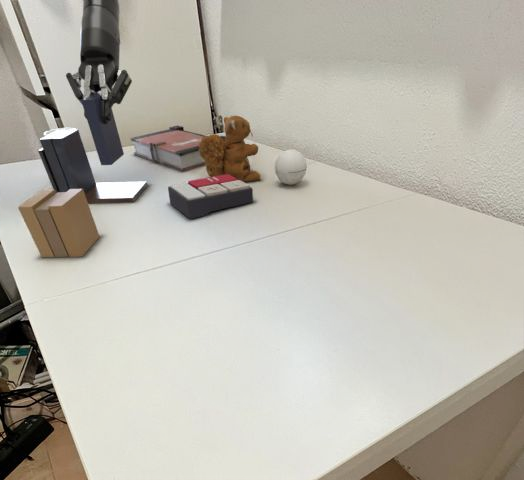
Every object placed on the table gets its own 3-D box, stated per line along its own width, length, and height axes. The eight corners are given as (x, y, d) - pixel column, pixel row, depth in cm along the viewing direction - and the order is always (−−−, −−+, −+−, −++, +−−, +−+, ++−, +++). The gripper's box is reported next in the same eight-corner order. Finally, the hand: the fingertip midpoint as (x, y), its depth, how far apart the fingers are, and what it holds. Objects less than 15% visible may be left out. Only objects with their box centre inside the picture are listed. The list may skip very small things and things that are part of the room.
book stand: (53, 204, 88) (27, 141, 79) (74, 187, 96) (53, 129, 87) (133, 202, 86) (116, 137, 77) (148, 185, 94) (133, 125, 86)
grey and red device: (253, 184, 80) (186, 197, 74) (253, 205, 83) (189, 219, 77) (229, 171, 87) (166, 182, 81) (230, 191, 90) (169, 203, 84)
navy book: (101, 165, 83) (80, 100, 75) (114, 154, 89) (96, 93, 81) (111, 165, 82) (92, 99, 74) (124, 154, 88) (107, 92, 80)
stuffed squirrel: (263, 180, 93) (260, 118, 84) (206, 188, 91) (197, 125, 82) (254, 168, 100) (250, 110, 91) (200, 175, 98) (192, 116, 89)
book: (132, 155, 116) (127, 136, 112) (180, 142, 124) (177, 125, 121) (180, 172, 101) (176, 151, 97) (231, 156, 109) (229, 137, 106)
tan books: (41, 257, 68) (17, 207, 62) (62, 237, 74) (42, 189, 68) (82, 256, 67) (62, 205, 61) (99, 236, 73) (82, 188, 67)
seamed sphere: (279, 191, 87) (278, 156, 82) (272, 180, 92) (271, 147, 87) (321, 185, 88) (323, 151, 83) (311, 175, 93) (312, 142, 89)
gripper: (57, 27, 76) (54, 110, 76) (124, 23, 75) (121, 107, 74) (78, 58, 84) (75, 134, 83) (140, 54, 83) (137, 131, 82)
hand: (97, 121), depth 79 cm, fingers closed on navy book, 2 cm apart
